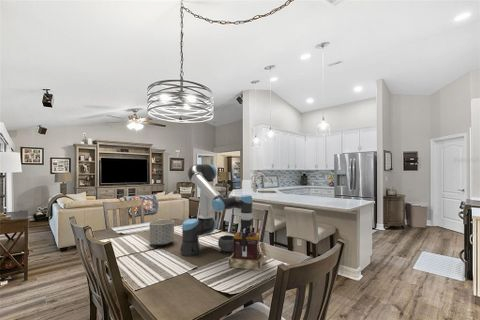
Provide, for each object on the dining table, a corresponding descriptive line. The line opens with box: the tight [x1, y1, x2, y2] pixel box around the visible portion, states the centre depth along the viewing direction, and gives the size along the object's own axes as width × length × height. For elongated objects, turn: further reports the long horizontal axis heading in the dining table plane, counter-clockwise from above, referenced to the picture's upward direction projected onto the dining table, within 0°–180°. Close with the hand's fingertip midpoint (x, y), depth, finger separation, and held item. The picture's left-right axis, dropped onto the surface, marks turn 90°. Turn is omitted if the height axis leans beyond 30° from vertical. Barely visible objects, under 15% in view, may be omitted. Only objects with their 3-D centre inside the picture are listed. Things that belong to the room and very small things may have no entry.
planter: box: [148, 218, 175, 247], centre depth 198 cm, size 19×19×18 cm
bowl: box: [217, 234, 234, 253], centre depth 182 cm, size 15×15×10 cm
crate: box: [228, 252, 265, 271], centre depth 158 cm, size 20×15×5 cm
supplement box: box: [232, 231, 260, 261], centre depth 158 cm, size 10×15×16 cm
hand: (246, 253), depth 158 cm, fingers closed on supplement box, 10 cm apart
